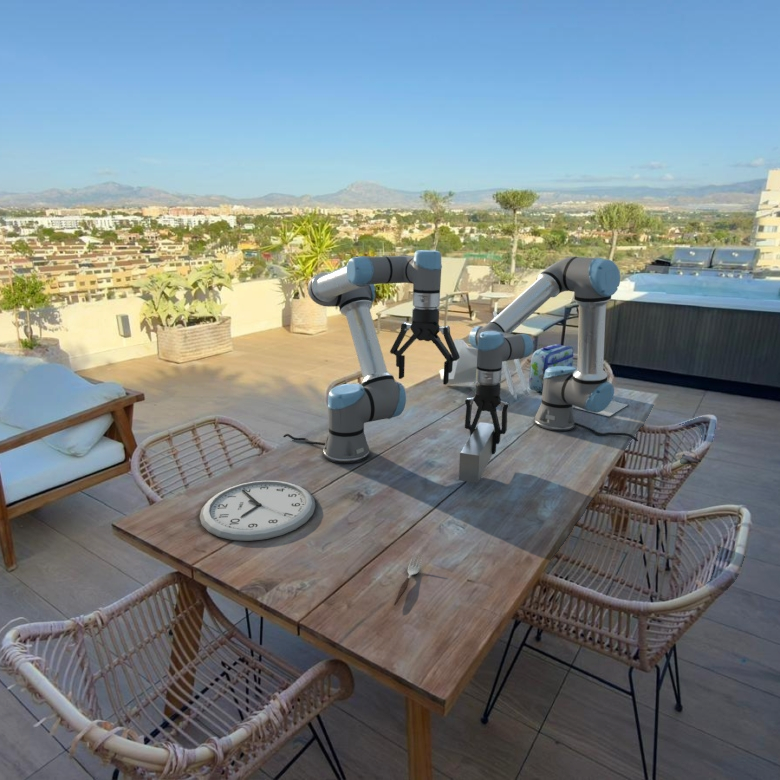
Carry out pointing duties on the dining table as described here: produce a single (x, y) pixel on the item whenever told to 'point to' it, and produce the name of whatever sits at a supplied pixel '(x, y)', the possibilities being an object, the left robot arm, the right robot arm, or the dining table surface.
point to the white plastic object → (467, 367)
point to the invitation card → (609, 408)
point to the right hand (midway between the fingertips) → (484, 450)
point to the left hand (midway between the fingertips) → (423, 380)
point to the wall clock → (257, 510)
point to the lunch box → (548, 363)
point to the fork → (412, 571)
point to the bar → (476, 453)
